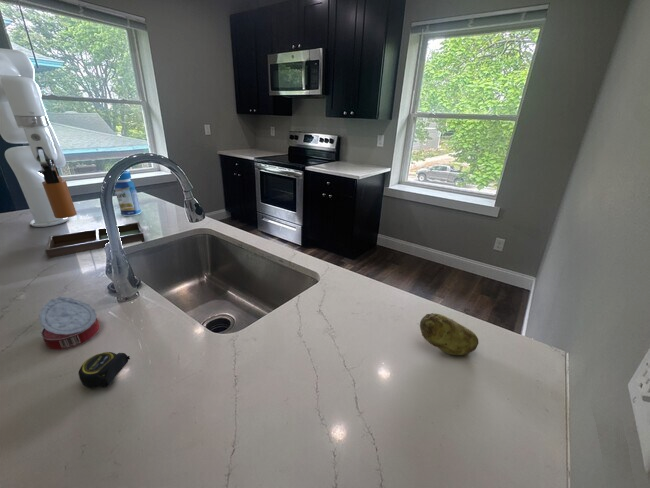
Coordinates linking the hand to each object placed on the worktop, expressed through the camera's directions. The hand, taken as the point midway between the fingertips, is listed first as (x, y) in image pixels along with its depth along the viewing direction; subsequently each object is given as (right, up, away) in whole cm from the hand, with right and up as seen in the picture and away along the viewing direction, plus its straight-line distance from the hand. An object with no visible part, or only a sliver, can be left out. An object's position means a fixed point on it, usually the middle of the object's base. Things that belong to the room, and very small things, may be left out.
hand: (53, 180), depth 99 cm
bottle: (-1, -11, +5) cm, 12 cm away
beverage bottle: (-2, -7, +44) cm, 44 cm away
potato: (+118, -45, -29) cm, 130 cm away
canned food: (+32, -42, -29) cm, 61 cm away
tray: (+5, -21, +14) cm, 26 cm away
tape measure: (+47, -48, -39) cm, 78 cm away
